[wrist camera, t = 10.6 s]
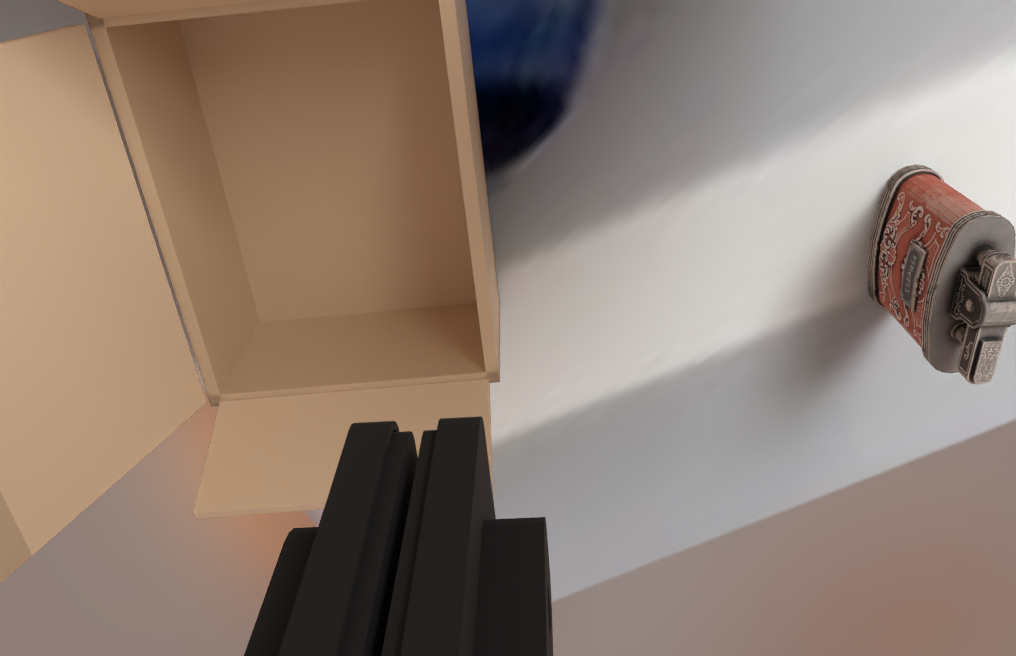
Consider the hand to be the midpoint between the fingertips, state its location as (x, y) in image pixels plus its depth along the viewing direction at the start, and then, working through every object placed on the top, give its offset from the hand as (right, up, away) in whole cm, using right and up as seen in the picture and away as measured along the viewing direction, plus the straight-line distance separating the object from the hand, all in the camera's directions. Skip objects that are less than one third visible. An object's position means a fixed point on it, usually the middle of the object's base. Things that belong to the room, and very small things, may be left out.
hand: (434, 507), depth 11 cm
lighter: (+22, +7, +34) cm, 41 cm away
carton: (-7, +11, +31) cm, 34 cm away
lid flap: (-16, +3, +20) cm, 26 cm away
